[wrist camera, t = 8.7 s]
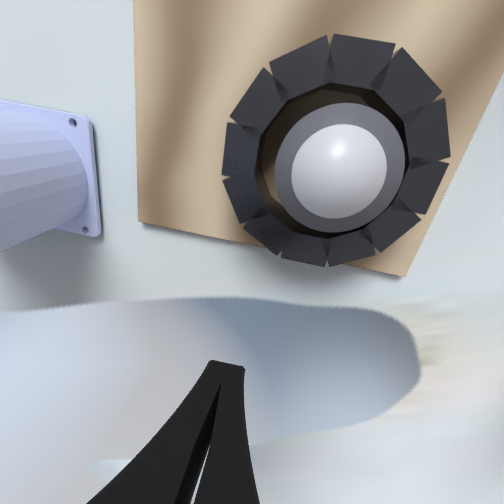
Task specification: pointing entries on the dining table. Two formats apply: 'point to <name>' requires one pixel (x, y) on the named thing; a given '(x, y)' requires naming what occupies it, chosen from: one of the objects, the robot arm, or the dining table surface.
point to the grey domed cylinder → (339, 167)
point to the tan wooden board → (244, 73)
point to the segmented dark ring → (378, 98)
